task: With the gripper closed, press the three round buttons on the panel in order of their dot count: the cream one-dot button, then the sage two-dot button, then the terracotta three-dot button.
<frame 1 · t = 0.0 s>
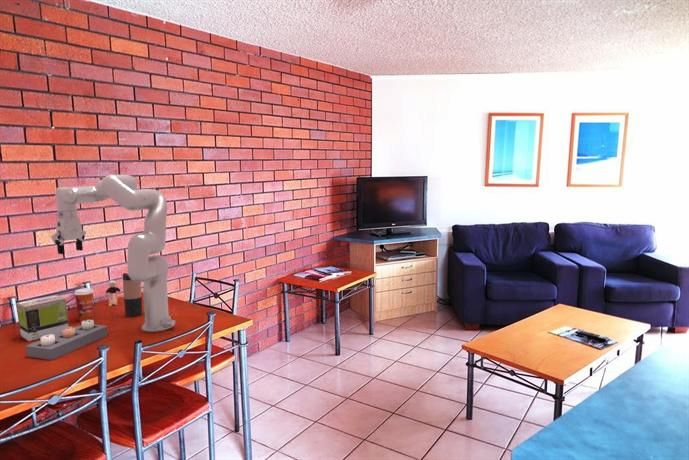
hand: (70, 252, 208), 31 cm above the table, tool pointing down, fingers open, 9 cm apart
grandmother figurine: (114, 305, 234), on the table
travel mug: (133, 315, 217), on the table
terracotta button: (68, 333, 179), point 5 cm above the table, slide at 0.0 cm
paper cup: (86, 320, 211), on the table
tea box: (45, 334, 192), on the table
sage button: (87, 325, 187), point 5 cm above the table, slide at 0.0 cm
cream button: (47, 341, 170), point 5 cm above the table, slide at 0.0 cm
button panel: (69, 345, 179), on the table
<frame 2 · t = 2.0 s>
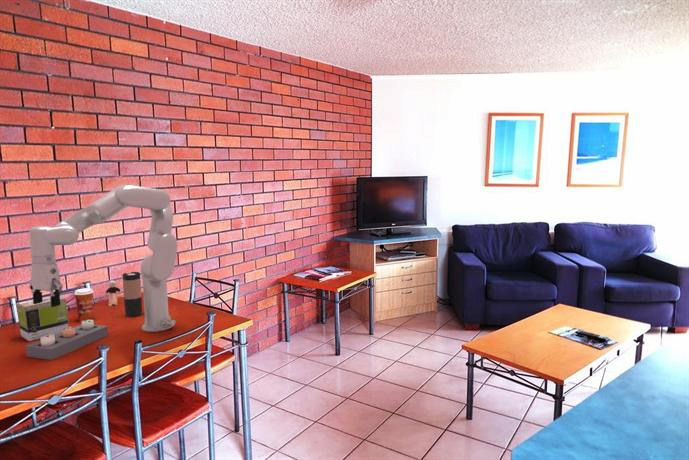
hand: (46, 304, 172), 18 cm above the table, tool pointing down, fingers open, 9 cm apart
nothing on the table moved.
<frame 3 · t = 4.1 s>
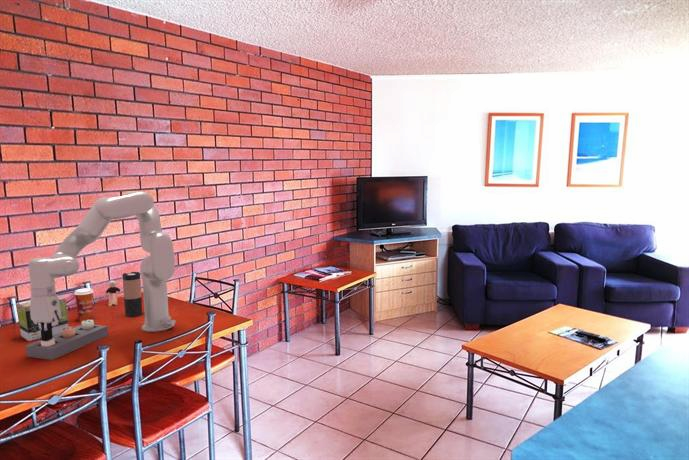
hand: (47, 339, 170), 6 cm above the table, tool pointing down, fingers closed
cream button: (48, 345, 170), point 3 cm above the table, slide at 1.5 cm, touching gripper
everything else where it was.
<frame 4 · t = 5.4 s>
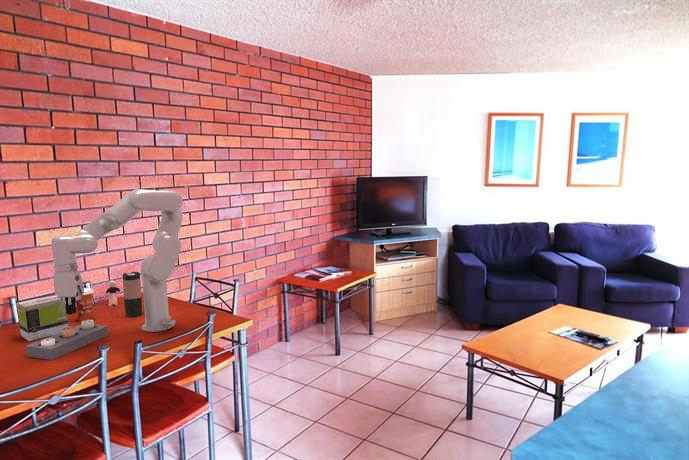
hand: (71, 313, 179), 12 cm above the table, tool pointing down, fingers closed
cream button: (48, 345, 170), point 3 cm above the table, slide at 1.5 cm
everything else where it was.
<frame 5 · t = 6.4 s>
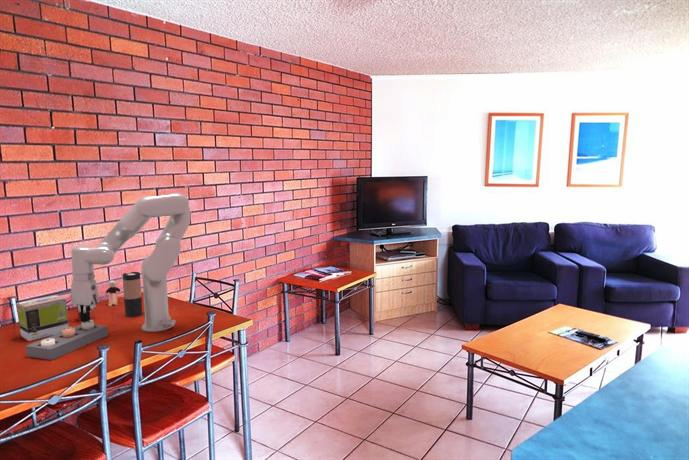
hand: (85, 321, 187), 7 cm above the table, tool pointing down, fingers closed
sage button: (87, 325, 187), point 5 cm above the table, slide at 0.0 cm, touching gripper
everything else where it was.
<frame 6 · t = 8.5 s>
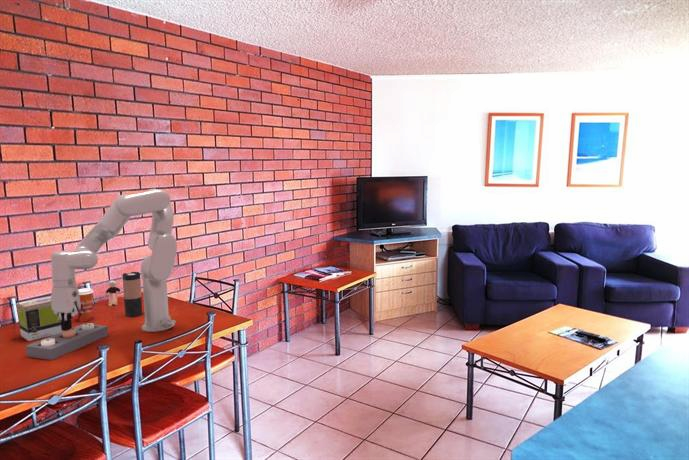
hand: (66, 329, 178), 7 cm above the table, tool pointing down, fingers closed
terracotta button: (68, 334, 179), point 4 cm above the table, slide at 0.4 cm, touching gripper
sage button: (88, 329, 187), point 3 cm above the table, slide at 1.5 cm
everything else where it was.
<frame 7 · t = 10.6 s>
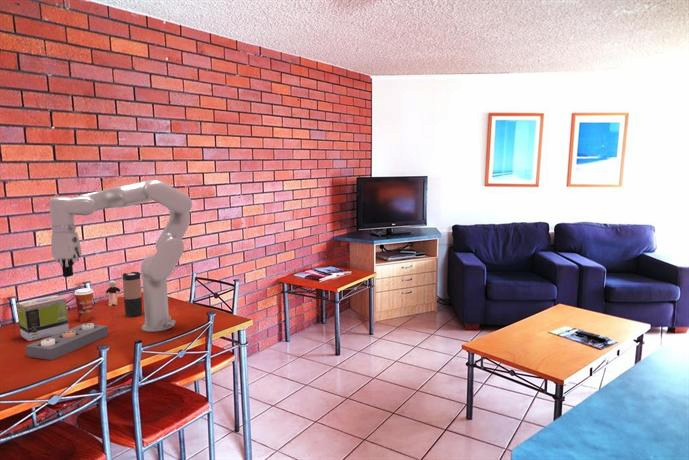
hand: (68, 276, 178), 27 cm above the table, tool pointing down, fingers closed
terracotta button: (69, 337, 179), point 3 cm above the table, slide at 1.5 cm
everything else where it was.
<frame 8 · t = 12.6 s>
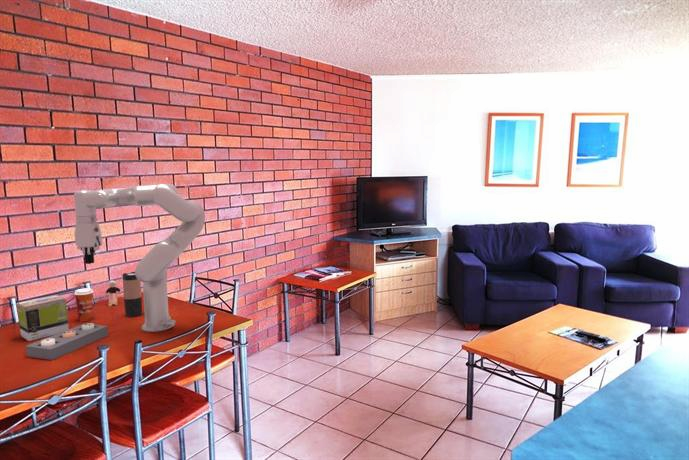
hand: (89, 263, 193), 29 cm above the table, tool pointing down, fingers closed
nothing on the table moved.
at the end: cream button slide at 1.5 cm; sage button slide at 1.5 cm; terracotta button slide at 1.5 cm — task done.
